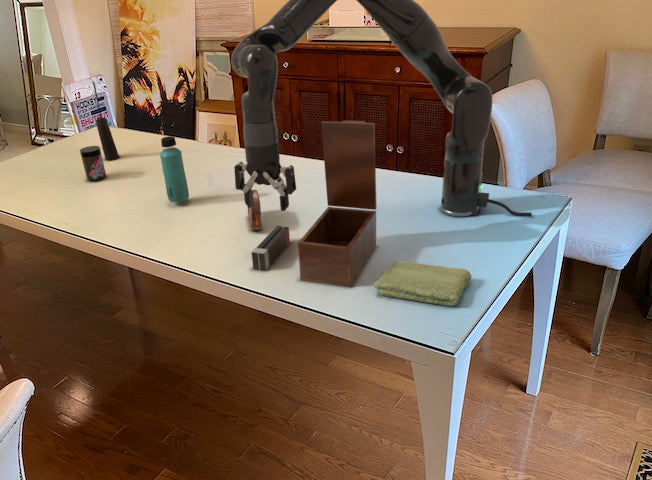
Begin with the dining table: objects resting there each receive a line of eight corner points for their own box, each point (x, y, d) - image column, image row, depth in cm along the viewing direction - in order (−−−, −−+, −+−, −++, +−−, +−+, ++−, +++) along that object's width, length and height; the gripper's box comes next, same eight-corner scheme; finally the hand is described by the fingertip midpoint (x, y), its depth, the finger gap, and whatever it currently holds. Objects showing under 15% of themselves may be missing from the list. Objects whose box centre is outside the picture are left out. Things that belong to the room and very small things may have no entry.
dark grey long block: (278, 241, 158) (276, 224, 155) (290, 242, 156) (288, 226, 154) (253, 269, 146) (251, 251, 144) (265, 270, 145) (264, 253, 143)
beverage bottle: (194, 199, 187) (183, 134, 177) (183, 208, 182) (171, 141, 172) (175, 198, 190) (164, 133, 180) (164, 206, 185) (151, 140, 175)
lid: (373, 124, 132) (380, 114, 136) (321, 122, 137) (329, 113, 141) (375, 209, 145) (381, 199, 148) (327, 205, 149) (334, 195, 153)
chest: (351, 287, 135) (350, 248, 130) (300, 280, 140) (297, 242, 135) (376, 246, 150) (376, 210, 145) (329, 241, 155) (328, 206, 150)
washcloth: (393, 267, 141) (393, 254, 139) (472, 280, 132) (474, 267, 131) (371, 295, 131) (371, 282, 130) (456, 312, 123) (457, 298, 121)
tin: (247, 213, 175) (244, 185, 170) (258, 211, 175) (255, 183, 170) (252, 236, 162) (248, 206, 158) (263, 234, 162) (261, 204, 158)
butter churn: (97, 156, 234) (79, 79, 220) (122, 151, 236) (106, 75, 221) (98, 163, 227) (79, 84, 212) (124, 159, 228) (107, 80, 214)
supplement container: (86, 183, 209) (79, 153, 204) (87, 177, 215) (79, 147, 210) (106, 180, 210) (99, 150, 205) (106, 173, 216) (100, 144, 210)
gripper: (224, 143, 137) (233, 211, 145) (284, 146, 131) (289, 217, 139) (239, 133, 142) (246, 199, 151) (297, 136, 137) (301, 204, 145)
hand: (267, 208), depth 145 cm, fingers open, 8 cm apart
